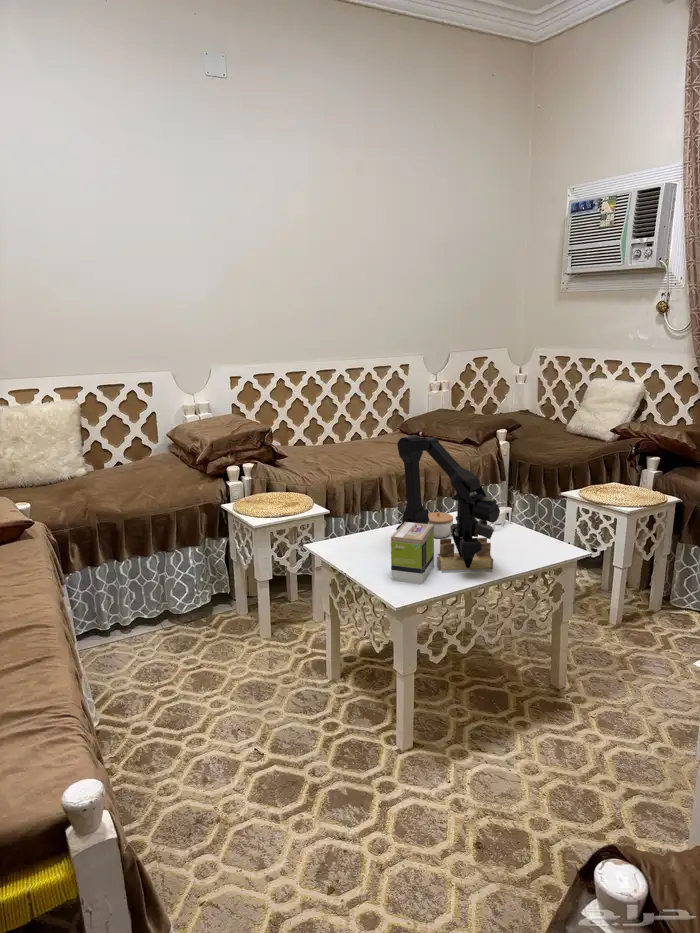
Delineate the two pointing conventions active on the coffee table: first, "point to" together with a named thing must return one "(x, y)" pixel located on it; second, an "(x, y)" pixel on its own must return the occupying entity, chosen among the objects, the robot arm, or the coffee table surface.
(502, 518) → the skeletal toy car
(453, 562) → the rail
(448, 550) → the stand
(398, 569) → the tea box
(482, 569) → the mat
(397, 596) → the coffee table surface
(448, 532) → the lidded jar
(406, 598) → the coffee table surface
